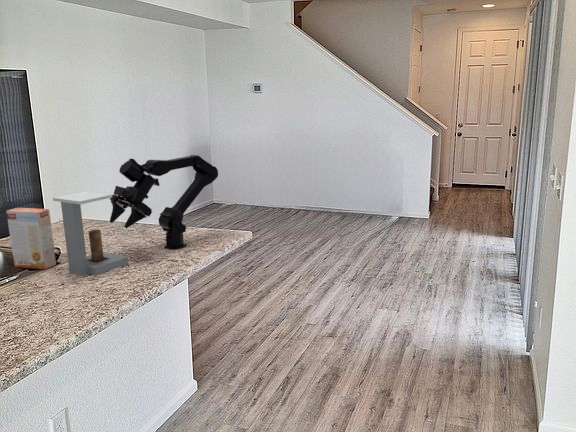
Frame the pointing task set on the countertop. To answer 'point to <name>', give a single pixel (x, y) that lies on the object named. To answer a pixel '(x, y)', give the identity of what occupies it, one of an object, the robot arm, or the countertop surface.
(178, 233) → the robot arm
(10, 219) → the cracker box
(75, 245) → the socket stand
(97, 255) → the walnut peg
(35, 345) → the countertop surface
